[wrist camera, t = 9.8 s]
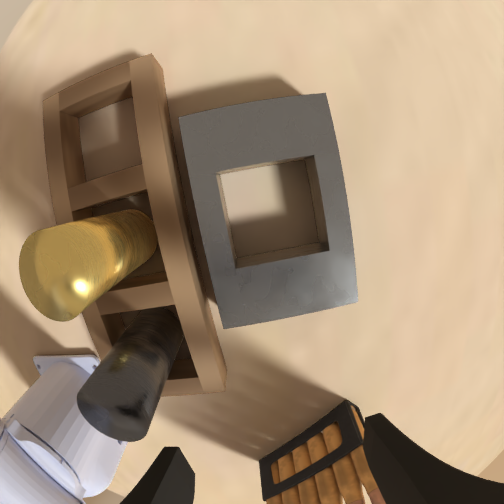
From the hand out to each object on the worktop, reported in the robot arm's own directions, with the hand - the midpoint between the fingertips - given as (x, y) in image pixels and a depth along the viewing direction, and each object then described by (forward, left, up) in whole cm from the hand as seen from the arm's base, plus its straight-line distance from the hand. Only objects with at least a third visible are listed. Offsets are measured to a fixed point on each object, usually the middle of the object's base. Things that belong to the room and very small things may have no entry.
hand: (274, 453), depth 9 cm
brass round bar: (+8, +7, -10) cm, 15 cm away
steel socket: (+8, -2, -10) cm, 13 cm away
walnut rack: (+8, +7, -10) cm, 15 cm away
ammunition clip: (-12, -2, -11) cm, 16 cm away
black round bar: (+1, +7, -10) cm, 13 cm away
